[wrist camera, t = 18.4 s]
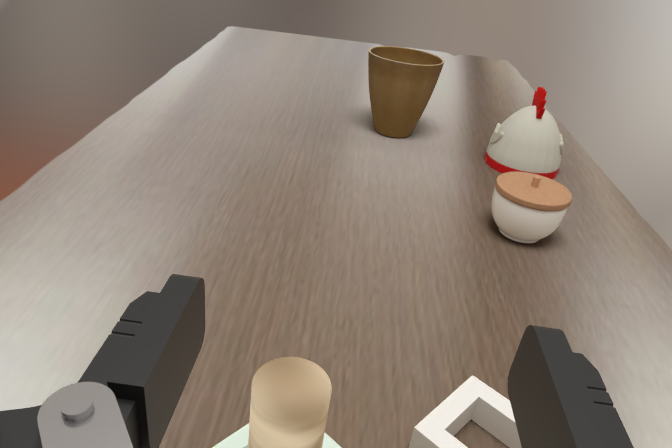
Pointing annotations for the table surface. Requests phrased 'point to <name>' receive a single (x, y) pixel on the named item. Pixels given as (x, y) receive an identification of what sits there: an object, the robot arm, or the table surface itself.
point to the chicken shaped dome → (527, 141)
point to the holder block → (467, 418)
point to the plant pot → (400, 87)
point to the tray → (238, 441)
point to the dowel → (289, 404)
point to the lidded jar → (528, 206)
